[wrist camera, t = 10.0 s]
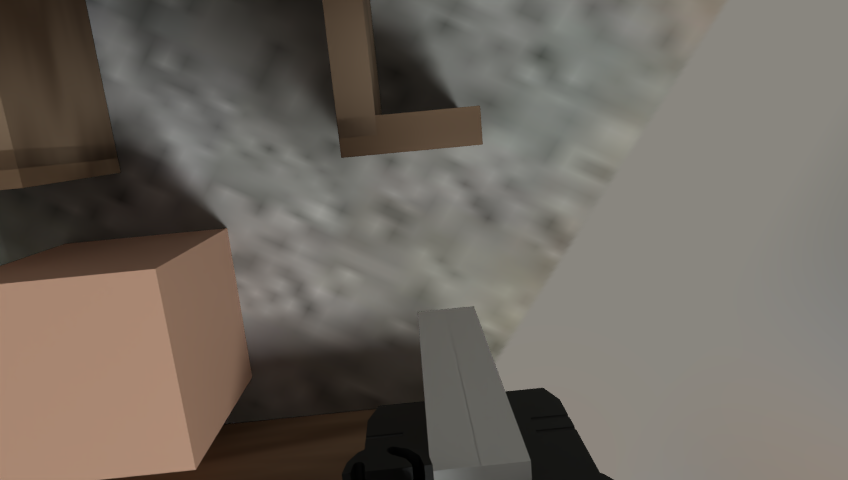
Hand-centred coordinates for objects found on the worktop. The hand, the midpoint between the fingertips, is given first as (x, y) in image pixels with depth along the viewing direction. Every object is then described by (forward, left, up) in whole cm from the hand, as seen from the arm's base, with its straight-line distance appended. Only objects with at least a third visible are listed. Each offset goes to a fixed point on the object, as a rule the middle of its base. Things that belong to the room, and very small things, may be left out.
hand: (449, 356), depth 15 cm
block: (+1, -12, -10) cm, 16 cm away
